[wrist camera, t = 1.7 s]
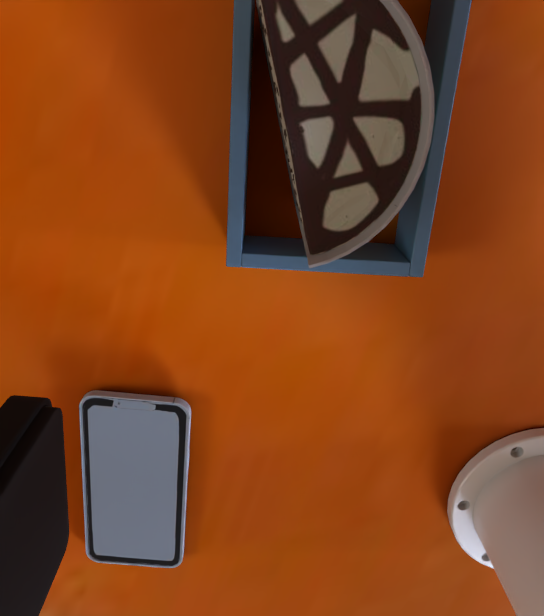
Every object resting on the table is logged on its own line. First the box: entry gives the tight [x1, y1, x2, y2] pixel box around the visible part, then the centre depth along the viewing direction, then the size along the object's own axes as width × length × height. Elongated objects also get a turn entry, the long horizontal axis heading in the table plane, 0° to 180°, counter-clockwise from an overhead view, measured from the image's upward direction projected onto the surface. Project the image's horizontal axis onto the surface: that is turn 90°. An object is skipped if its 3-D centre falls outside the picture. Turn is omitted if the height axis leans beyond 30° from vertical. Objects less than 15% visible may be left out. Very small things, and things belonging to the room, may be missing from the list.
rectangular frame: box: [226, 0, 472, 277], centre depth 27 cm, size 11×17×4 cm, turn 176°
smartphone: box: [79, 390, 191, 568], centre depth 37 cm, size 7×1×15 cm
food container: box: [256, 0, 434, 268], centre depth 24 cm, size 12×6×10 cm, turn 12°
